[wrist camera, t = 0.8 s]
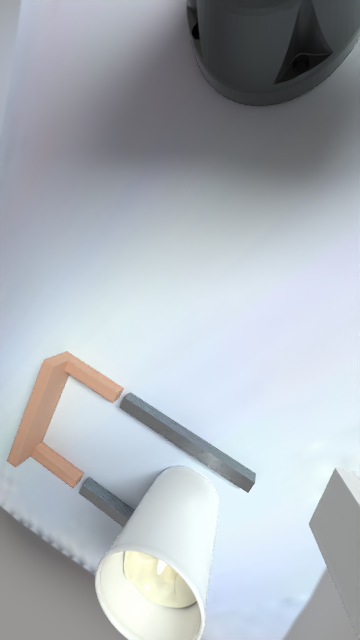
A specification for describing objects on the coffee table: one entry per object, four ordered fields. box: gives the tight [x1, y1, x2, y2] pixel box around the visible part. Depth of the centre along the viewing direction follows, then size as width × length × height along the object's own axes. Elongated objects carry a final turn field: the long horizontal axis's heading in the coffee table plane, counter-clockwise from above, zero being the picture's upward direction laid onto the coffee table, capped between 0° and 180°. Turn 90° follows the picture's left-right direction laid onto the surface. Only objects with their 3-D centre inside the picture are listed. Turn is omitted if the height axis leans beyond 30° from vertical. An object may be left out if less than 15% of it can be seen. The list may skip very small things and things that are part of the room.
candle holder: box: [95, 466, 219, 640], centre depth 29 cm, size 10×10×12 cm
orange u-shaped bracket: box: [7, 352, 123, 488], centre depth 36 cm, size 16×9×4 cm, turn 153°
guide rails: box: [79, 393, 256, 527], centre depth 35 cm, size 16×17×2 cm
